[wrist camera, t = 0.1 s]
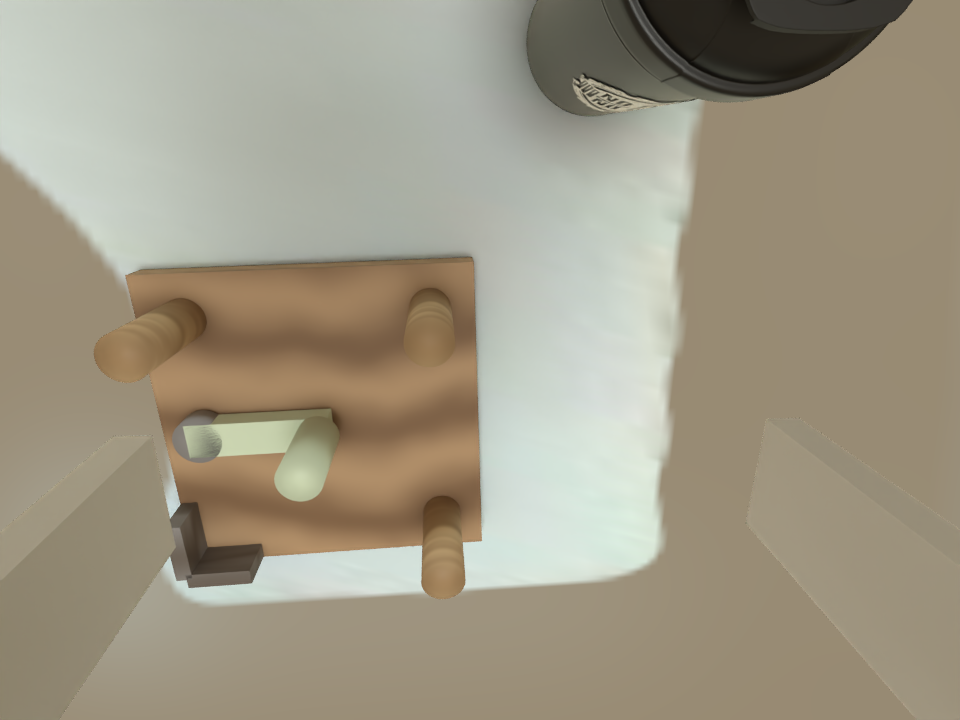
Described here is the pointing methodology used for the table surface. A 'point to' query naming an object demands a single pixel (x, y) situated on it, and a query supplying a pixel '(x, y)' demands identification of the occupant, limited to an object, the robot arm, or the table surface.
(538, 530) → the table surface
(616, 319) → the table surface
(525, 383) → the table surface
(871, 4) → the water bottle
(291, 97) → the table surface
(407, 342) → the stool seat
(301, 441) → the hinged leg
